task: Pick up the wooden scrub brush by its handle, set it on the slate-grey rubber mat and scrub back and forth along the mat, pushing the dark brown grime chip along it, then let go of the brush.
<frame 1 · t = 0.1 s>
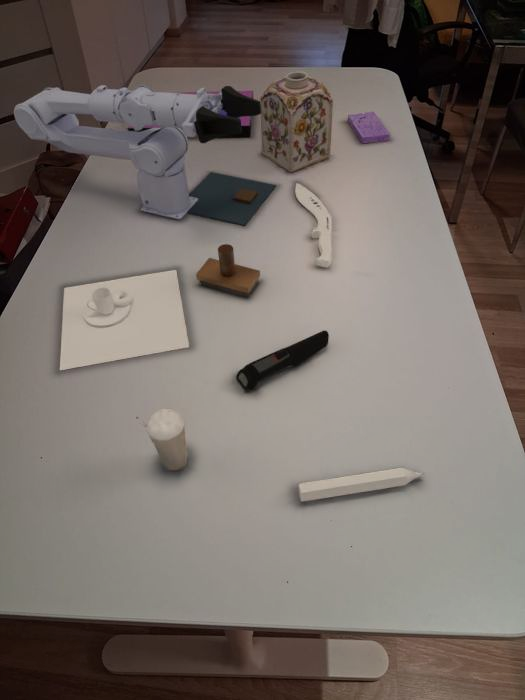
hand: (250, 117, 91), 22 cm above the table, tool horizontal, fingers open, 7 cm apart
brush: (229, 283, 95), on the table
sponge: (367, 131, 133), on the table
milkshake: (172, 461, 71), on the table
white pencil: (362, 487, 67), on the table
knife: (311, 223, 107), on the table
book: (194, 120, 141), on the table
electric trimmer: (282, 365, 82), on the table
teacup and saucer: (123, 316, 90), on the table
mat: (226, 198, 114), on the table
grime chip: (245, 197, 113), resting on mat
decorative jar: (295, 157, 125), on the table
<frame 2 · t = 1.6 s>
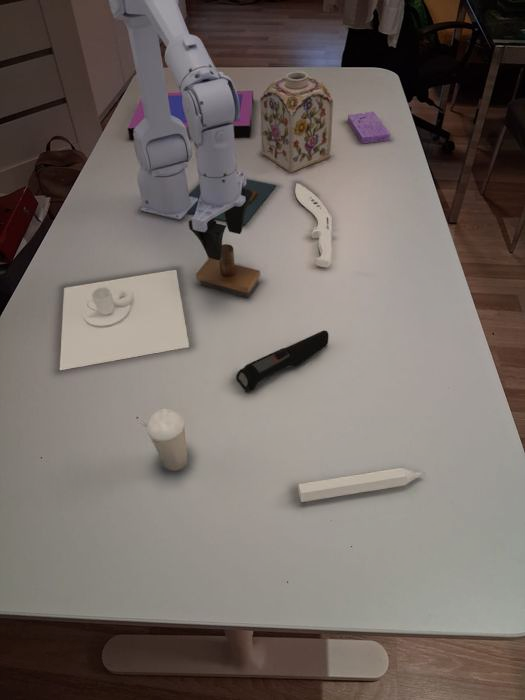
hand: (225, 244, 89), 8 cm above the table, tool pointing down, fingers open, 7 cm apart
nothing on the table moved.
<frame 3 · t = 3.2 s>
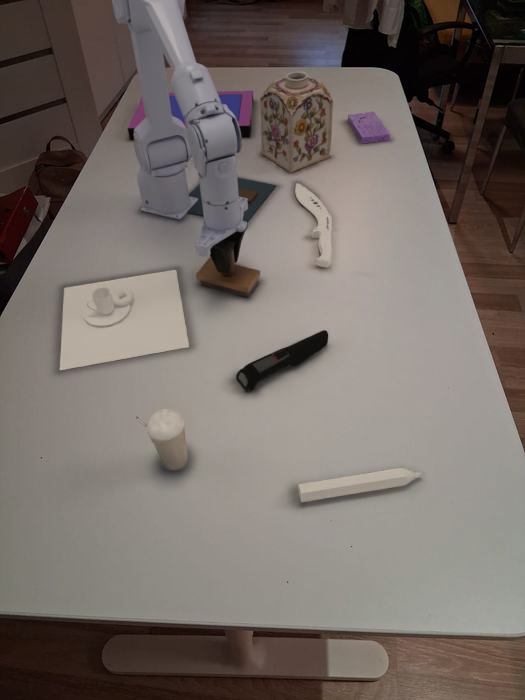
hand: (227, 266, 92), 4 cm above the table, tool pointing down, fingers closed on brush, 2 cm apart
brush: (229, 283, 95), on the table, touching gripper
everything else where it was.
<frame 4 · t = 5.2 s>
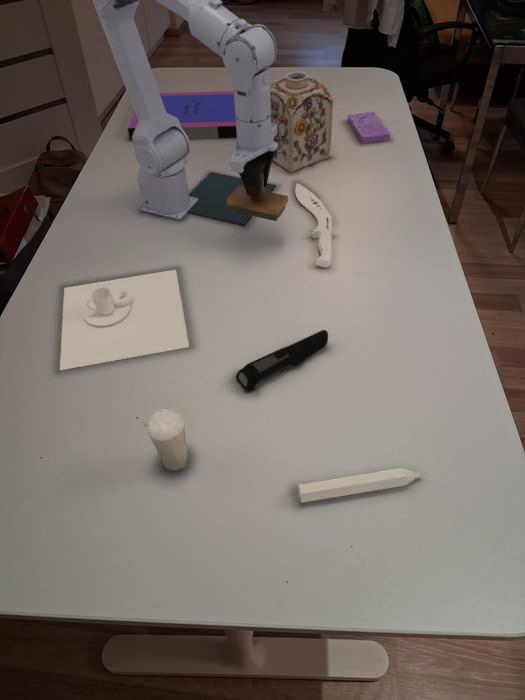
hand: (256, 190, 96), 10 cm above the table, tool pointing down, fingers closed on brush, 2 cm apart
brush: (257, 209, 99), point 6 cm above the table, touching gripper
everything else where it was.
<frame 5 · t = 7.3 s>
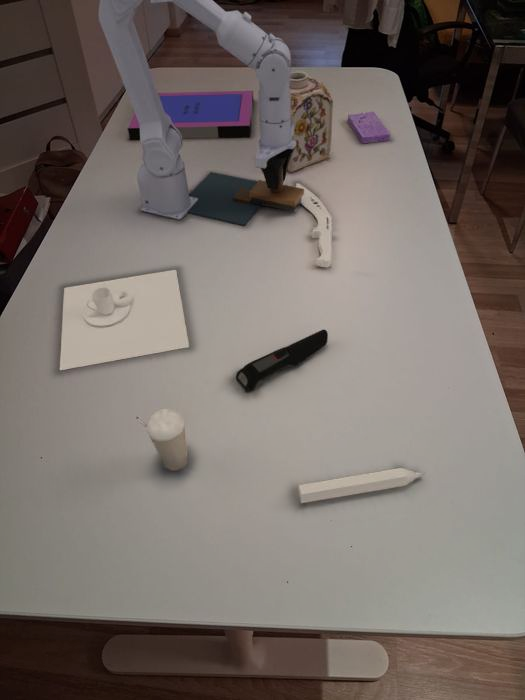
hand: (276, 184, 108), 5 cm above the table, tool pointing down, fingers closed on brush, 2 cm apart
brush: (276, 201, 111), point 1 cm above the table, touching gripper
everything else where it was.
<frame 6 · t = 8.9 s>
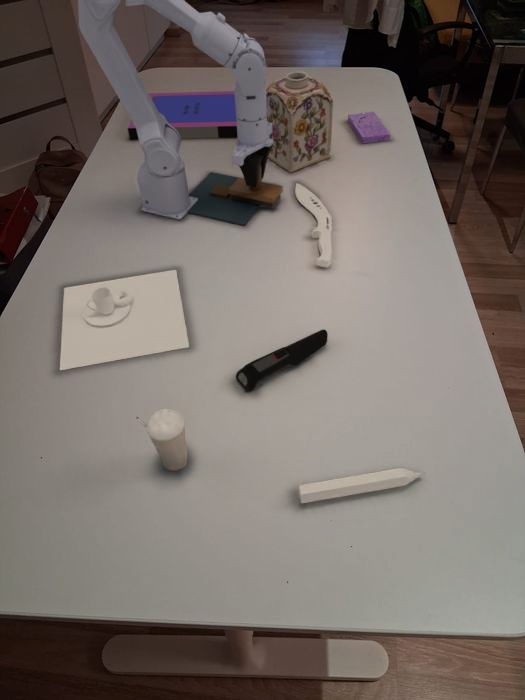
hand: (254, 181, 109), 5 cm above the table, tool pointing down, fingers closed on brush, 2 cm apart
brush: (256, 198, 112), point 1 cm above the table, touching gripper
grime chip: (222, 192, 115), resting on mat
everything else where it was.
when the fingers open (4 cm above the table, at t = 11.8 s): brush stays where it is, resting on mat.
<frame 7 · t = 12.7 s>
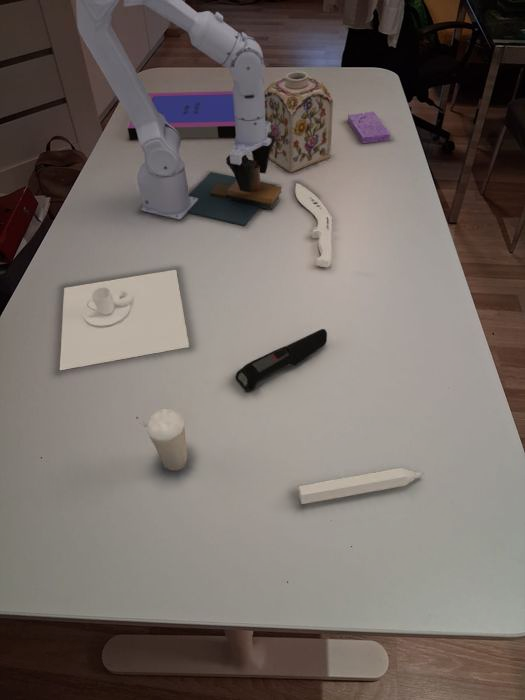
hand: (253, 181, 109), 5 cm above the table, tool pointing down, fingers open, 7 cm apart
brush: (254, 199, 113), resting on mat
everything else where it was.
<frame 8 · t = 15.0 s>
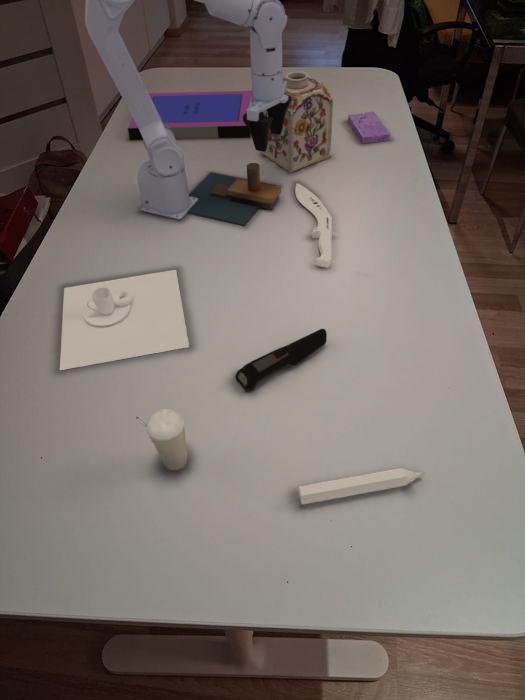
hand: (268, 141, 109), 10 cm above the table, tool pointing down, fingers open, 7 cm apart
nothing on the table moved.
at the end: grime chip moved 5.5 cm from its start; brush inside the target area on the mat (6.2 cm from its centre), point 0.4 cm above the mat's base; brush tilted 0° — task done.
